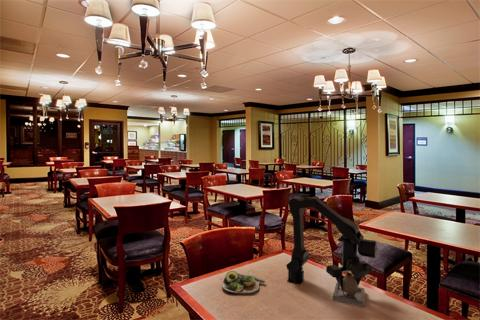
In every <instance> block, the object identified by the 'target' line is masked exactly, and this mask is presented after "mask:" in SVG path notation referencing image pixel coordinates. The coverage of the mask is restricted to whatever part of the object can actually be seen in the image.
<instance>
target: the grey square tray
mask: <svg viewBox="0 0 480 320" xmlns="http://www.w3.org/2000/svg"><path fill="white" fill-rule="evenodd" d="M365 292H366V291H365V288H364V287H359V286H358V291H357V293H356V294H355V295H354V296H346V295H345V294H344V293H343V292H342V290H341V289H340V287H339V285H338V282H336V283H335V287H334V290H333V293H332V297H331V299H332V301H335V302H339V303H345V304H349V305H352V306H358V307H362V308H364V307H365V294H366V293H365Z"/></svg>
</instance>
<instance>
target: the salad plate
mask: <svg viewBox="0 0 480 320" xmlns="http://www.w3.org/2000/svg"><path fill="white" fill-rule="evenodd" d="M264 283H266V281H265V279H264V280H262V279H260V278H258V277H257V276H255V275H253V274H242V273H239V272H237V271H235V270H230V271H228V272H227V273H226V274H225V276H224V278H223V281H222V286H221V288H222V290H223V291H224V292H225V293H227V294H230V293H231V294H232V295H246V294H247V295H248V294H253V293H256V292H257V291H258V290H259V289H260V284H264ZM246 287H249V288H251V290H248V291H243V290H244V289H247V288H246ZM243 288H244V289H243Z"/></svg>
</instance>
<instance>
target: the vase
mask: <svg viewBox="0 0 480 320" xmlns="http://www.w3.org/2000/svg"><path fill="white" fill-rule="evenodd" d="M343 276H344V277H345V278H344V279H343V289H342V292H343V293H344V294H345V295H346V296H354V295H355V294H356V293H357V291H358V287H359V285H358V284H357V281H356V279H355V278H354V275H353V274H352V273H351V272H345V275H343Z"/></svg>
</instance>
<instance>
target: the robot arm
mask: <svg viewBox="0 0 480 320" xmlns="http://www.w3.org/2000/svg"><path fill="white" fill-rule="evenodd" d="M288 208H289V212H290V214H291V216H292V229H293V234H292V235H293V250H292V253H291V257H290V259H291V260H290V261H289V262H288V263H287V264H286V265H285V266H286V269H287V274H288V276H287V277H288V278H287V280H286V282H287V283H292V284H296V285H301V284H302V282H304V281H305V280H304V279H305V271H304V267H303V266H304V265H305V264H306V263H307V262H308V261H309V259H310V256H309V253H310V252H309V249H306V247H305V239H304V236H305V235H304V213H305V210H306V208H313V209H315V210H316V211H317V212H319V213H320V214H321V215H322V216H324V217H325V218H326V219H327V220H328V221H330V222H331V223H332V224H333V225H335V227H336V229H337V231H339V233H340V235H341V236H339V237H338V238H337V242H342V251H341V252H340V256H341V260H342V261H341V262H339V263H340V264H339V265H340V266H341V267H339V266H337V264H330V265H327V266H326V267H325V272H326V273H327V274H329V275H330V277H332V278H335V280H336V283H338V285H339V287H340V289H341V290H342V289H343V279H344V278H345V277H344V276H345V275H343V274H344V273H349V272H350V273H351V274H352V275H353V277H354V278H355V279H356V281H357V284H358V286H359V285H360V284H361V281H362V279H363V278H365V277H366V276H367V275H368V274H372V273H373V267H372V265H371V264H369V263H368V262H366V261H362V260H361V261H360V257H359V256H358V255H360V256H362V257H367V258H371V259H374V260H375V259H377V256H378V244H377V240H374V239H372V240H370V239H366V238H364V236H363V234H362V233H361V231H360V228H359V225H358V224H357V223H356V222H354V221H352V220H351V219H349V218H346V217H343V216H342V215H340V214H339V213H338V212H336V211H335V210H334V209H333V208H331V207H330V206H329V205H328V204H326V203H325V202H324V201H322V200H321V199H320V197H318V196H312V197H311V196H309V197H308V196H307V197H303V196H295V197H292V198H291V199H289V201H288Z"/></svg>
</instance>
